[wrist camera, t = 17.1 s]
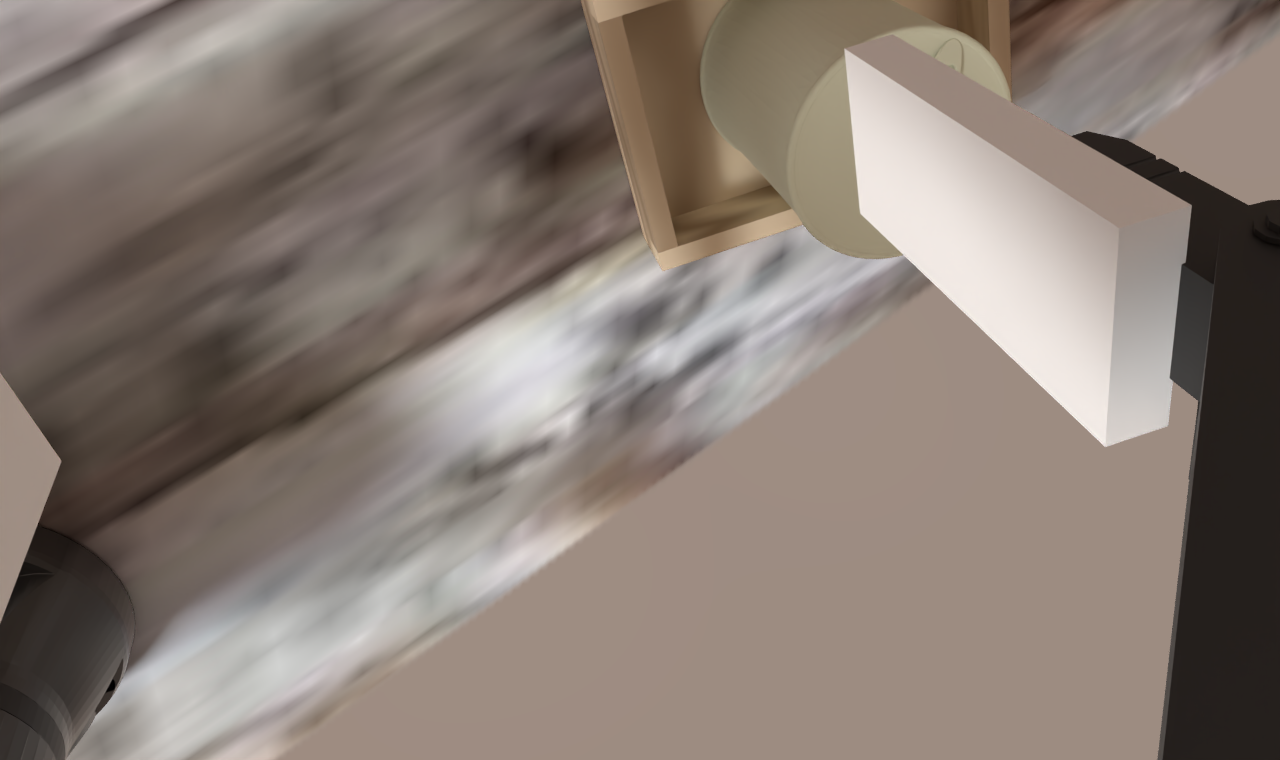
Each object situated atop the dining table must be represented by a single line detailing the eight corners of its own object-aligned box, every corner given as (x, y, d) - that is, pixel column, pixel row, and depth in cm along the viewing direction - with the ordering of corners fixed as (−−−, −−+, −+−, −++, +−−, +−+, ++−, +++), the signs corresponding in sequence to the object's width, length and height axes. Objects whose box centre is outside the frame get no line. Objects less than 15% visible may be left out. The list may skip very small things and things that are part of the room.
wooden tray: (643, 236, 52) (662, 271, 49) (574, -23, 45) (591, -2, 42) (973, 127, 53) (1013, 154, 50) (959, -144, 46) (1005, -132, 43)
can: (918, -2, 48) (1066, 70, 38) (835, 180, 52) (949, 288, 42) (745, -69, 45) (858, -8, 35) (670, 132, 49) (752, 237, 39)
